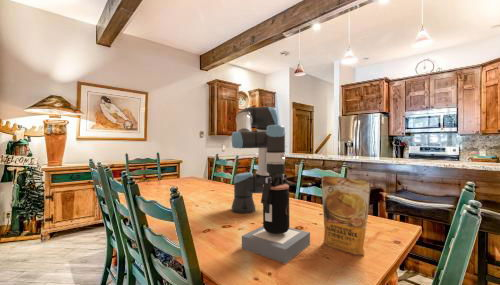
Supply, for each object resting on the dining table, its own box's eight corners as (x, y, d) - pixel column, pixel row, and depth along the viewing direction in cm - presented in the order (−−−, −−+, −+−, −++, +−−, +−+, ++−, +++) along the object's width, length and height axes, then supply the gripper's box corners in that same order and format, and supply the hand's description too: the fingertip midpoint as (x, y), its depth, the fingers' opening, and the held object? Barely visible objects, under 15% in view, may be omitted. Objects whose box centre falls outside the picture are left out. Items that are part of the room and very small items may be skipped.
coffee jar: (291, 234, 91) (291, 187, 91) (263, 234, 91) (263, 187, 91) (287, 224, 102) (287, 182, 102) (262, 224, 102) (262, 183, 102)
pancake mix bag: (325, 239, 104) (324, 174, 104) (372, 253, 90) (371, 179, 90) (317, 243, 99) (317, 176, 99) (365, 259, 85) (365, 181, 86)
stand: (241, 248, 95) (241, 235, 95) (269, 233, 110) (269, 222, 110) (285, 263, 82) (285, 248, 82) (310, 244, 98) (309, 231, 98)
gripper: (267, 165, 85) (268, 227, 85) (297, 161, 103) (297, 212, 103) (251, 164, 90) (251, 223, 90) (282, 160, 108) (282, 209, 108)
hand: (276, 217), depth 96 cm, fingers closed on coffee jar, 11 cm apart
